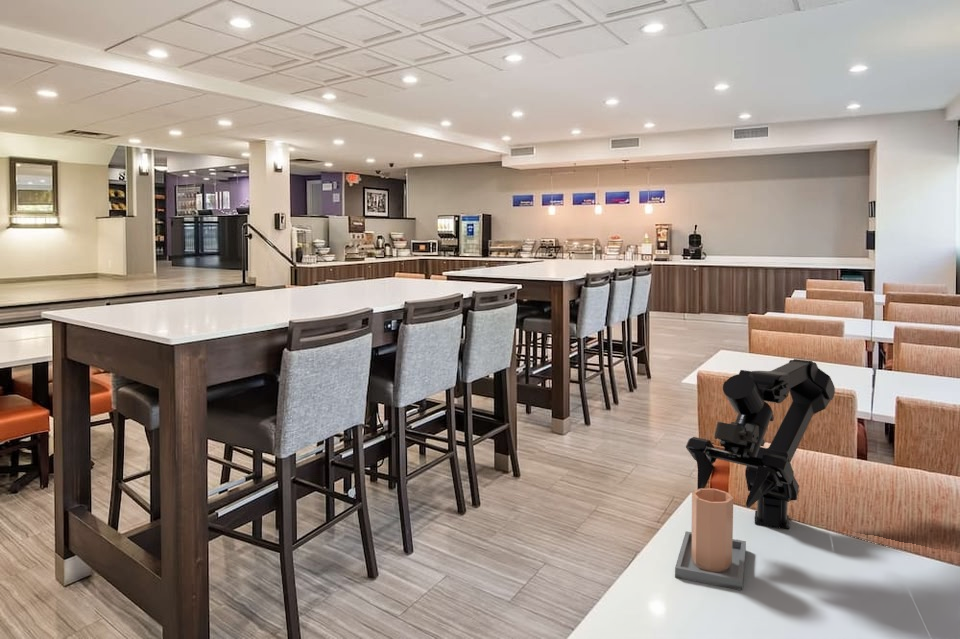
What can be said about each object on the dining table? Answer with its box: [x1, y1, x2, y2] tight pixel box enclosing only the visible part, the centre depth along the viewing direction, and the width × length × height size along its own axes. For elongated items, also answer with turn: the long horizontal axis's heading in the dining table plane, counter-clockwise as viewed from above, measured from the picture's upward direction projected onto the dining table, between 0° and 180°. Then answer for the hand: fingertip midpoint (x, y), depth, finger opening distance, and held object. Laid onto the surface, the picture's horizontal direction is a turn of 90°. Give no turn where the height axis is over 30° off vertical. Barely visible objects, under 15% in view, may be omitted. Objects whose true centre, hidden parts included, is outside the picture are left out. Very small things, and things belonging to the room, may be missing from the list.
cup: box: [691, 488, 734, 573], centre depth 110 cm, size 6×6×13 cm
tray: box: [674, 531, 747, 591], centre depth 112 cm, size 15×11×2 cm
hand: (722, 499), depth 112 cm, fingers open, 9 cm apart
